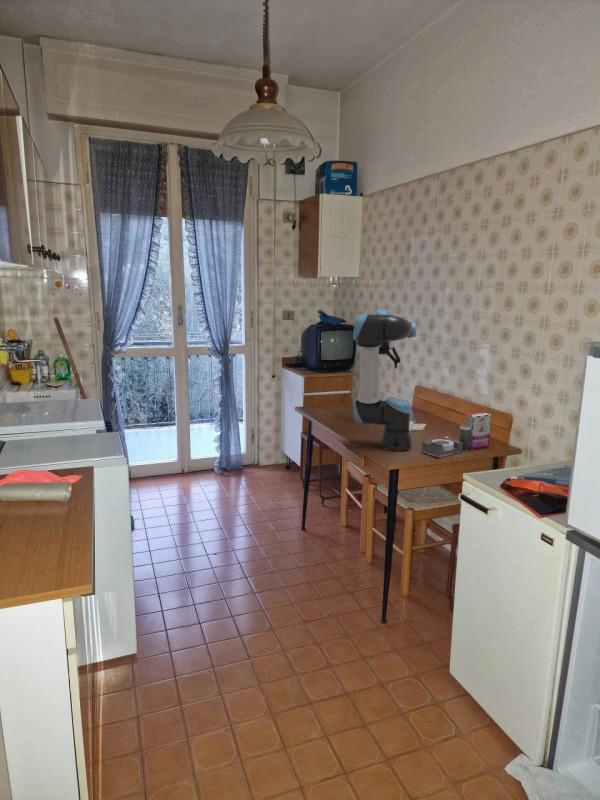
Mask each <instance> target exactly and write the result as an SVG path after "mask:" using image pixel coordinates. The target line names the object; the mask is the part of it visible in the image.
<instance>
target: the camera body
mask: <svg viewBox="0 0 600 800" xmlns="http://www.w3.org/2000/svg"><path fill="white" fill-rule="evenodd" d="M421 445H422V447H421V452H422V451H425V452H428V453H431V454H434V455H437V456H440V455H444V454H449V453H456V452H462V453H463V450H462V447H463V442H460V441H459V440H456V439H453V438H451V437H449V436H444V437H442V438H439V439H437V438H436V439H432V440H431V442H430V441H427V440H426V441H422V444H421Z"/></svg>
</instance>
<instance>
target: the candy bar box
mask: <svg viewBox="0 0 600 800" xmlns="http://www.w3.org/2000/svg"><path fill="white" fill-rule="evenodd" d="M491 422H492V414H491V413H487V412H481V413H480V412H479V413H473V414H472V413H471V414H467V415H466V424H465V425H469V426H470V427H471V429H470V438H469V448H470V449H469V450H471V449H472V450H476V449H475V448H479V449H483V447H485V448H489V447H488V446H490V437H491V426H492V425H491Z"/></svg>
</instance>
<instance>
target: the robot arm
mask: <svg viewBox="0 0 600 800" xmlns="http://www.w3.org/2000/svg"><path fill="white" fill-rule="evenodd" d="M354 321H355V322H354V326H353V332H352V339H353V341H356V346H357V347H359V394H358V395H357V396H356V398H355V399H354V400H353V404H352V407H353V408H352V410H353V411H352V412H353V418H354V420H355V422H356V423H358V424H364V425H366V424H367V425H378V426H379V425H381V426H384V431H383V434H382V437H381V439H380V442H379V447H380V446H381V447H382V449H383V448H385V449H384V450H386V449H389V450H388V451H390V450H408V449H410V450H412V448H413V443H412V439H411V436H410V435H411V434H410V423H411V422H410V420H411V404H410V402H408V400H406V399H403V398H398V397H387V398H385V400H382V396H381V395H380V394H379V370H380V369H379V365H380V364H379V363H380V361H379V360H380V359H379V358H380V356H379V355H387V356H388V357H389V358H390V359H391V361H392V362H393V368H392V369H393V370H392V371H393V372H392V374H393V375H395V374H396V369H397V368H398V363H399V364H400V363H401V357H400V356H399V354H398V352H397V350H396V346H395V345H393V346H390V342H396V341H401V340H405V339H407V338H409V339H410V338H415V337H417V326H418V325H417V323H416V322H410V321H408V320H407V319H405V318H403V317H400V316H397V315H393V314H390V311H389V310H387V309H378V310H377V311H376V312H375V314H368V313H366V314H359V315H357V317H356V319H355V320H354ZM390 350H391V352H392V353H391V352H390ZM381 447H380V448H381ZM408 451H409V450H408Z"/></svg>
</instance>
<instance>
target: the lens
mask: <svg viewBox="0 0 600 800" xmlns="http://www.w3.org/2000/svg"><path fill="white" fill-rule="evenodd" d="M470 429H471V427H470V426H469V425H466V424H461V425H459V440H458V441H460V442H463V447H462V451H463V450H467V449H469V438H470ZM469 450H470V449H469ZM467 451H468V450H467Z"/></svg>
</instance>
